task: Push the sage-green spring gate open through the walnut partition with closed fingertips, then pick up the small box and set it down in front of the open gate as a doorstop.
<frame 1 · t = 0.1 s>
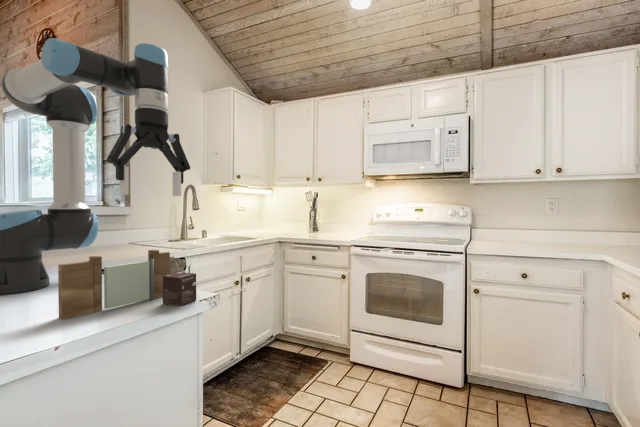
hand: (152, 195, 86), 28 cm above the worktop, fingers open, 13 cm apart
partition: (120, 304, 87), on the worktop
rock: (166, 281, 116), on the worktop
box: (179, 303, 90), on the worktop
door: (130, 283, 88), point 6 cm above the worktop, hinge at 0.0°
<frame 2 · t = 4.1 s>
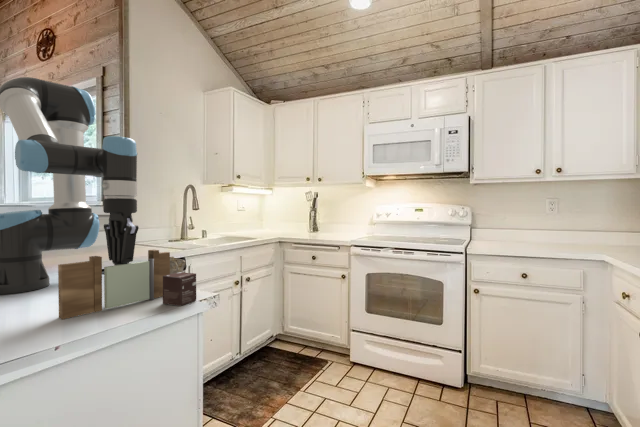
hand: (120, 288, 89), 4 cm above the worktop, fingers closed
door: (130, 283, 88), point 6 cm above the worktop, hinge at 0.3°, touching gripper
everything else where it was.
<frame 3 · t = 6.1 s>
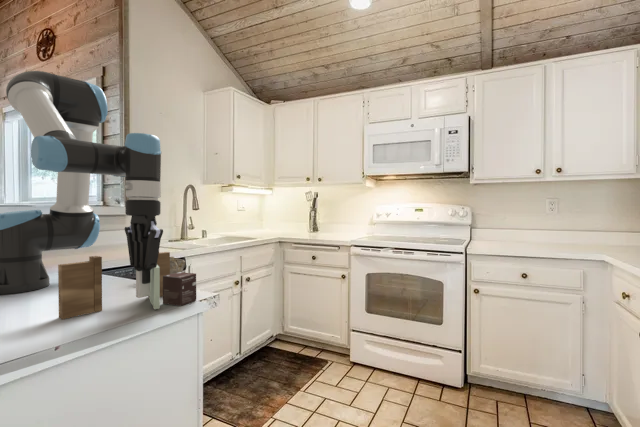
hand: (143, 296, 83), 3 cm above the worktop, fingers closed
door: (153, 283, 88), point 6 cm above the worktop, hinge at 65.5°, touching gripper
everything else where it was.
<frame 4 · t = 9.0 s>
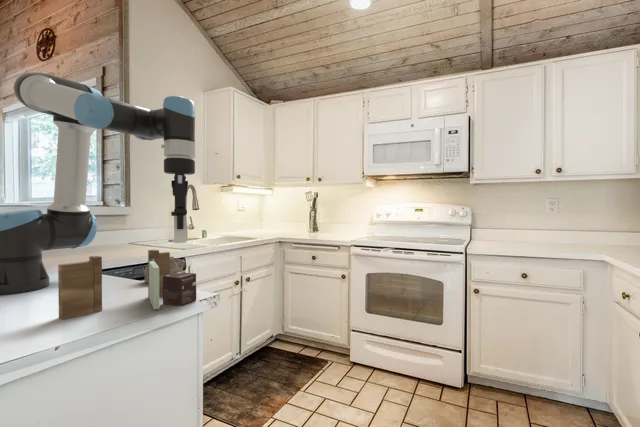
hand: (179, 240, 90), 16 cm above the worktop, fingers open, 13 cm apart
door: (153, 283, 88), point 6 cm above the worktop, hinge at 65.1°
everything else where it was.
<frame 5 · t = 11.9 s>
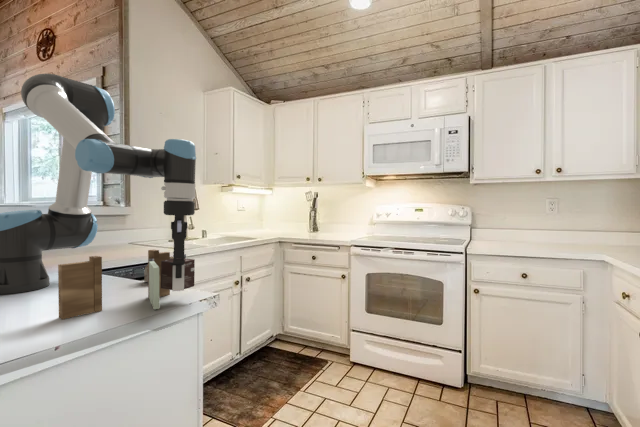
hand: (178, 286, 91), 4 cm above the worktop, fingers closed on box, 8 cm apart
box: (177, 288, 90), point 4 cm above the worktop, touching gripper
everything else where it was.
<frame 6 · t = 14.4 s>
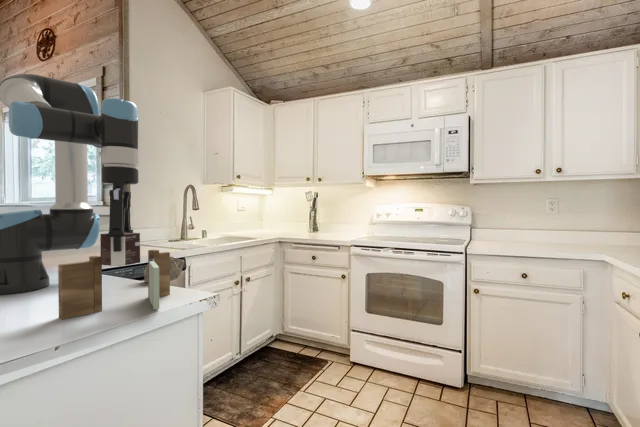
hand: (121, 262, 82), 12 cm above the worktop, fingers closed on box, 8 cm apart
box: (120, 264, 82), point 11 cm above the worktop, touching gripper
everything else where it was.
when the fingers open (0 cm above the worktop, at t = 16.8 s): box stays where it is, on the worktop.
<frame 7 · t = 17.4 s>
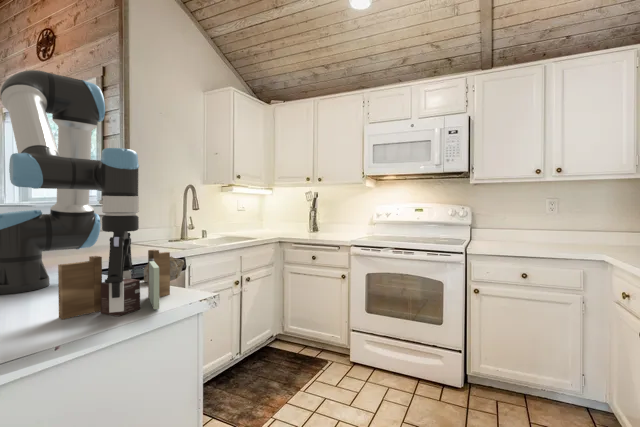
hand: (121, 303, 82), 2 cm above the worktop, fingers open, 13 cm apart
box: (120, 312, 82), on the worktop
everything else where it was.
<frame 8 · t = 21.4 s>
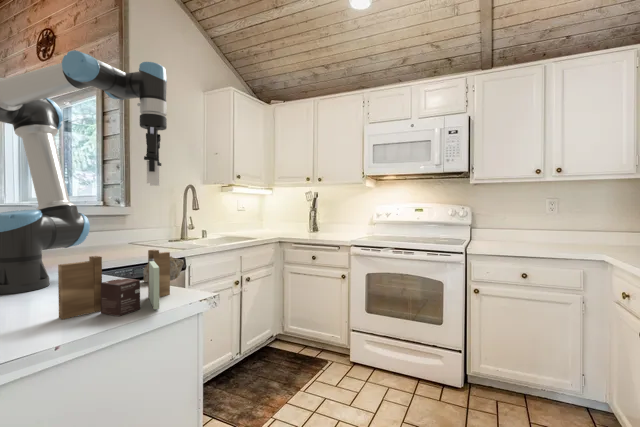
hand: (153, 184, 107), 32 cm above the worktop, fingers open, 13 cm apart
nothing on the worktop moved.
at the end: door at +65° (first picture: +0°); box inside the target area (0.0 cm from its centre), on the worktop; the gripper is holding nothing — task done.
